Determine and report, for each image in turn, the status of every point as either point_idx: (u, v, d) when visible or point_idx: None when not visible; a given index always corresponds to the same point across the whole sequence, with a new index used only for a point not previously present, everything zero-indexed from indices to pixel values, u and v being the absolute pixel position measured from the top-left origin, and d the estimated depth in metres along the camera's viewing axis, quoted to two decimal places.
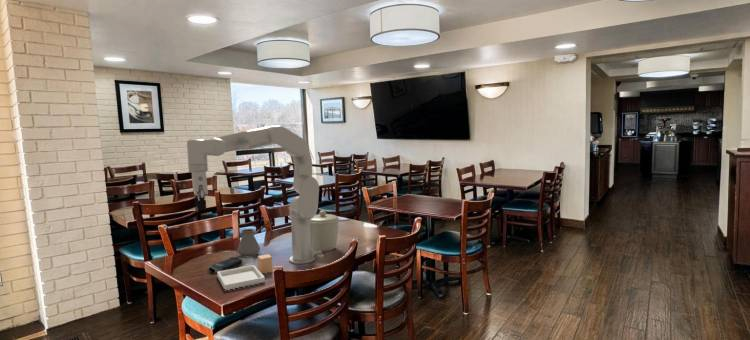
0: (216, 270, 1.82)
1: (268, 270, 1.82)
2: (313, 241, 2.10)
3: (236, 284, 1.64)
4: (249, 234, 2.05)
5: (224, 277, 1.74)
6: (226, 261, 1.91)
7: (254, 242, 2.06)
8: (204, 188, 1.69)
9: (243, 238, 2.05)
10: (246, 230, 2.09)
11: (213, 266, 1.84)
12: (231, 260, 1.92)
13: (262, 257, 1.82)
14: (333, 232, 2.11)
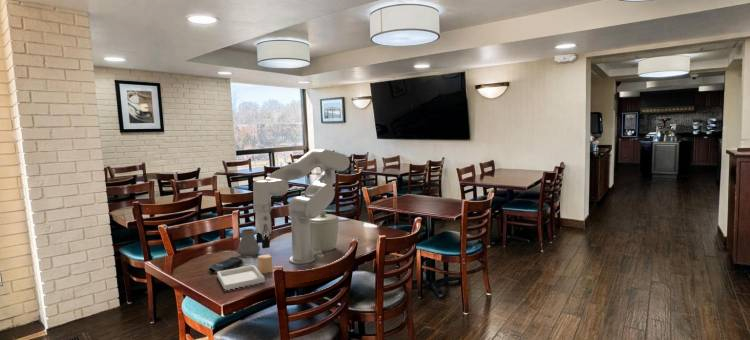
0: (216, 270, 1.82)
1: (268, 270, 1.82)
2: (313, 241, 2.10)
3: (236, 284, 1.64)
4: (249, 234, 2.05)
5: (224, 277, 1.74)
6: (226, 261, 1.91)
7: (254, 242, 2.06)
8: (268, 227, 1.78)
9: (243, 238, 2.05)
10: (246, 230, 2.09)
11: (213, 266, 1.84)
12: (231, 260, 1.92)
13: (262, 257, 1.82)
14: (333, 232, 2.11)
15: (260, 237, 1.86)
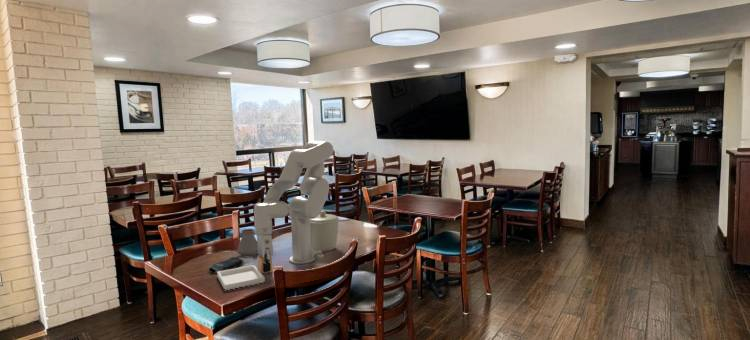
0: (216, 270, 1.82)
1: None
2: (313, 241, 2.10)
3: (236, 284, 1.64)
4: (249, 234, 2.05)
5: (224, 277, 1.74)
6: (226, 261, 1.91)
7: (254, 242, 2.06)
8: (270, 253, 1.79)
9: (243, 238, 2.05)
10: (246, 230, 2.09)
11: (213, 266, 1.84)
12: (231, 260, 1.92)
13: (262, 257, 1.82)
14: (333, 232, 2.11)
15: None
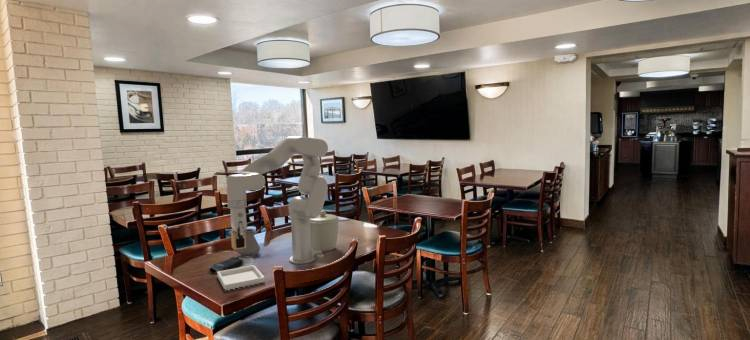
0: (217, 270, 1.82)
1: None
2: (313, 241, 2.10)
3: (236, 284, 1.64)
4: (249, 234, 2.05)
5: (224, 277, 1.74)
6: (227, 261, 1.91)
7: (254, 242, 2.06)
8: (244, 227, 1.68)
9: None
10: (246, 230, 2.09)
11: (214, 266, 1.84)
12: (232, 260, 1.92)
13: (235, 232, 1.70)
14: (333, 232, 2.11)
15: None
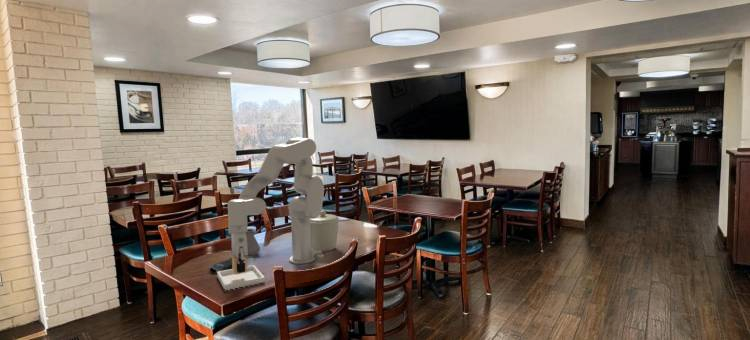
0: (217, 270, 1.82)
1: None
2: (313, 241, 2.10)
3: (236, 284, 1.64)
4: (249, 234, 2.05)
5: (224, 277, 1.74)
6: (227, 261, 1.91)
7: (254, 242, 2.06)
8: (244, 252, 1.68)
9: None
10: None
11: (214, 266, 1.84)
12: None
13: None
14: (333, 232, 2.11)
15: None
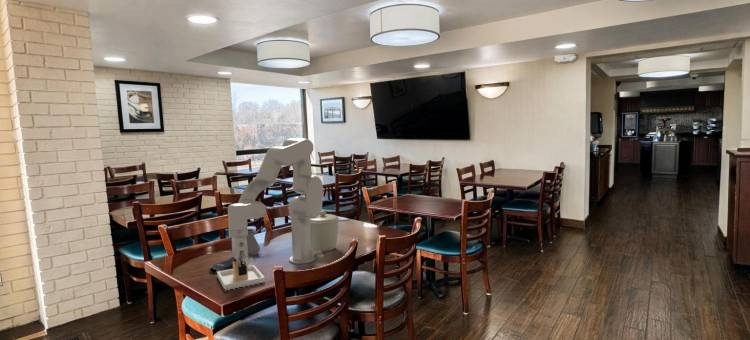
0: (217, 270, 1.82)
1: (243, 277, 1.72)
2: (313, 241, 2.10)
3: (236, 284, 1.64)
4: (249, 234, 2.05)
5: (224, 277, 1.74)
6: (227, 261, 1.91)
7: (254, 242, 2.06)
8: (245, 253, 1.68)
9: None
10: None
11: (214, 266, 1.84)
12: (232, 260, 1.92)
13: (237, 263, 1.72)
14: (333, 232, 2.11)
15: None
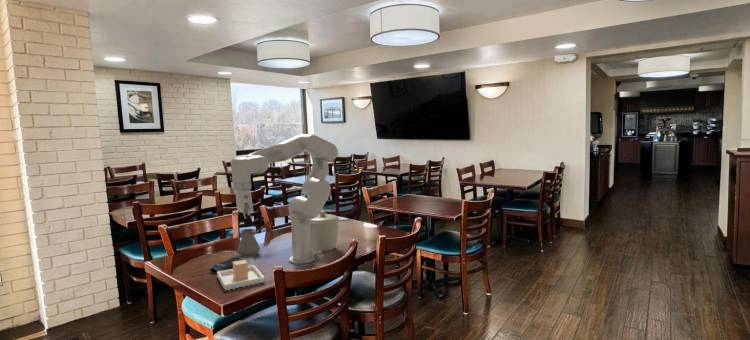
0: (218, 270, 1.82)
1: (243, 277, 1.72)
2: (313, 241, 2.10)
3: (236, 284, 1.64)
4: (249, 234, 2.05)
5: (224, 277, 1.74)
6: (227, 261, 1.91)
7: (254, 242, 2.06)
8: (250, 206, 1.72)
9: (243, 238, 2.05)
10: (246, 230, 2.09)
11: (215, 266, 1.84)
12: (232, 260, 1.92)
13: (237, 263, 1.72)
14: (333, 232, 2.11)
15: (242, 216, 1.80)
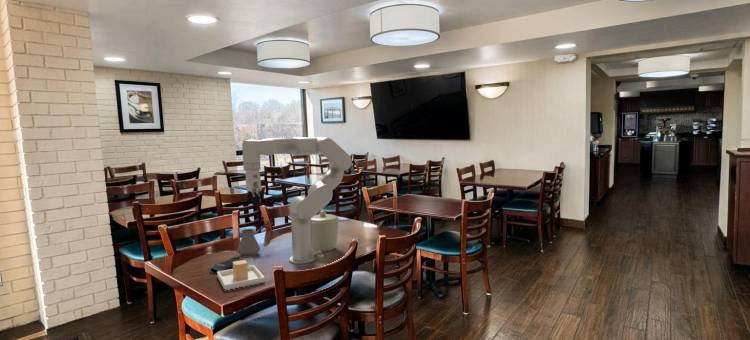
0: (218, 270, 1.81)
1: (243, 277, 1.72)
2: (313, 241, 2.10)
3: (236, 284, 1.64)
4: (249, 234, 2.05)
5: (224, 277, 1.74)
6: (228, 261, 1.91)
7: (254, 242, 2.06)
8: (258, 185, 1.82)
9: (243, 238, 2.05)
10: (246, 230, 2.09)
11: (215, 266, 1.84)
12: (233, 260, 1.92)
13: (237, 263, 1.72)
14: (333, 232, 2.11)
15: (251, 196, 1.90)
